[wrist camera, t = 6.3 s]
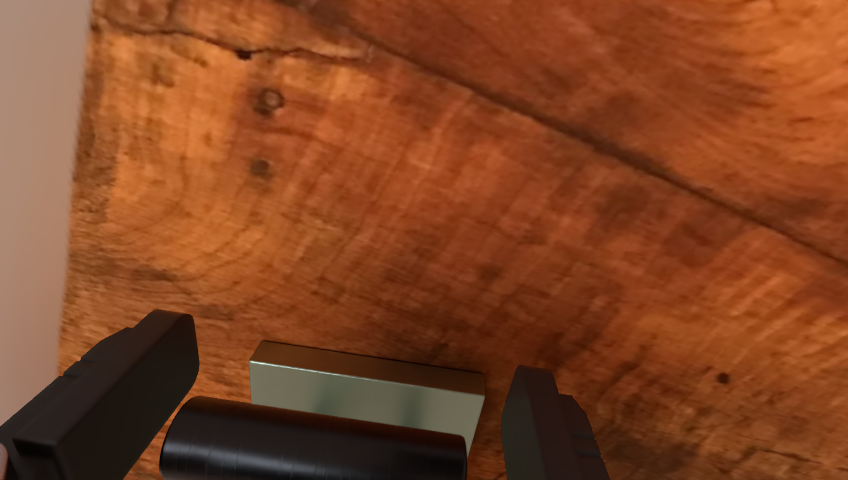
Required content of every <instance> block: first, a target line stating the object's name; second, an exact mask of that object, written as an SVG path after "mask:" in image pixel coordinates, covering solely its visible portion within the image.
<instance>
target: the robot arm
mask: <svg viewBox="0 0 848 480" xmlns="http://www.w3.org/2000/svg"><path fill="white" fill-rule="evenodd" d="M198 371H199V355H198V347H197V340H196V332H195V325H194V319H193V317H192V316H191V315H190V314H185V313H179V312H172V311H166V310H154V311H152V312H151V313H149V314H148V315H147V316H146V317H145V318H144V319H143V320H141V321H140V322H139V323H138V324H137V325H136V326H135V327H134V328H128V327H127V328H125V329H123V330H121V331H119V332H117V333H115V334H113V335H111V336H109V337H107V338H105V339H103V340H101V341H100V342H99V343H98V344H96V345H95V346H94V347H93V348H92V349H91V350H89V351H88V352H87V353H86V354H85V355H83V356H82V357H81V360H80V361H76V362H75V363H74V364H73V365H72V366H71V367H69V368H68V369H67V370H66V371H65V372H64V375H63V376H59V377H58V378H57V379H55V380H54V381H53V382H52V383H51V384H50V385H49V386H47V387H46V388H45V389H44V390H42V392H40V393H39V394H38V395H37V396H35V397H34V398H33V399H32V400H31V401H30V402H28V403H27V404H26V405H25V406H24V407H23V408H21V409H20V410H19V411H18V412H17V413H16V414H14V415H13V416H12V417H11V418H10V419H9V420H7V421H6V422H5V423H4V424H3V425H2V426H0V480H123V478H124V477H125V476H126V474H127V473H128V472H129V470H130V469H131V468H132V466H133V465H134V464H135V462H136V461H137V460H138V458H139V457H140V456H141V454H142V453H143V452H144V450H145V449H146V448H147V446H148V445H149V444H150V442H151V441H152V440H153V438H154V437H155V436H156V434H157V433H158V432H159V430H160V429H161V428H162V426H163V425H164V424H165V422H166V421H167V420H168V418H169V417H170V416H171V414H172V413H173V412H174V411H175V409H176V408H177V407H178V405H179V404H180V403H181V401H182V400H183V399H184V397H185V396H186V395H187V393H188V392H189V391H190V389H191V388H192V386H193V384H194V382H195V380H196V378H197V375H198ZM501 434H502V443H503V450H504V458H505V466H506V474H507V480H610V478H609V475H608V473H607V470H606V467H605V464H604V462H603V459H601V457H600V455H601V453H600V451H599V448H598V445H597V442H596V440H594V434H593V431H592V428H591V426H590V423H589V420H588V417H587V415H586V414H585V412H584V411H583V410H582V408H581V407H580V406H579V405H578V403H577V402H576V401H575V400H574V398H573V397H572V396H571V395H565V394H559V392H558V389H557V386H556V382H555V379H554V376H553V373H552V371H551V370H549V369H542V368H535V367H529V366H522V365H519V366H518V367H517V369H516V371H515V374H514V378H513V381H512V384H511V387H510V390H509V393H508V396H507V400H506V403H505V406H504V409H503V414H502V423H501Z"/></svg>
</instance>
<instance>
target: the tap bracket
mask: <svg viewBox="0 0 848 480" xmlns="http://www.w3.org/2000/svg"><path fill="white" fill-rule="evenodd" d="M249 372H250V388H251V404H258V405H265V406H271V407H278V408H285V409H291V410H298V411H305V412H311V413H318V414H325V415H331V416H338V417H345V418H351V419H358V420H365V421H371V422H378V423H385V424H391V425H398V426H405V427H412V428H418V429H425V430H432V431H438V432H445V433H452V434H458V435H462V436H463V437H464V438H465V442H466V448H467V459H468V456H469V452H470V448H471V445H472V441H473V438H474V434H475V431H476V427H477V424H478V420H479V417H480V413H481V410H482V406H483V403H484V399H485V388H484V378H483V374H479V373H472V372H466V371H459V370H453V369H446V368H439V367H433V366H426V365H419V364H413V363H406V362H400V361H393V360H386V359H380V358H373V357H366V356H360V355H353V354H347V353H340V352H333V351H327V350H320V349H313V348H307V347H300V346H294V345H287V344H280V343H274V342H267V341H261V342H260V344H259V346H258V347H257V349H256V350H255V352H254V354H253V355H252V357H251V358H250V360H249Z"/></svg>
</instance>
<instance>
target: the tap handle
mask: <svg viewBox="0 0 848 480" xmlns="http://www.w3.org/2000/svg"><path fill="white" fill-rule="evenodd" d="M159 469H160V474H161V476H162V478H163V479H164V480H467V448H466V442H465V438H464V437H463V436H462V435H458V434H452V433H445V432H438V431H432V430H425V429H418V428H412V427H405V426H398V425H391V424H385V423H378V422H371V421H365V420H358V419H351V418H345V417H338V416H331V415H325V414H318V413H311V412H305V411H298V410H291V409H285V408H278V407H271V406H265V405H258V404H251V403H245V402H238V401H231V400H225V399H218V398H211V397H204V396H197V397H193V398H191V399H190V400H188V401H187V402H186V403H185V404H184V405H183V406H182V407H181V409H180V410H179V411H178V413H177V414H176V416H175V418H174V419H173V421H172V423H171V425H170V427H169V429H168V431H167V434H166V436H165V439H164V442H163V446H162V449H161V454H160V461H159Z"/></svg>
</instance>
